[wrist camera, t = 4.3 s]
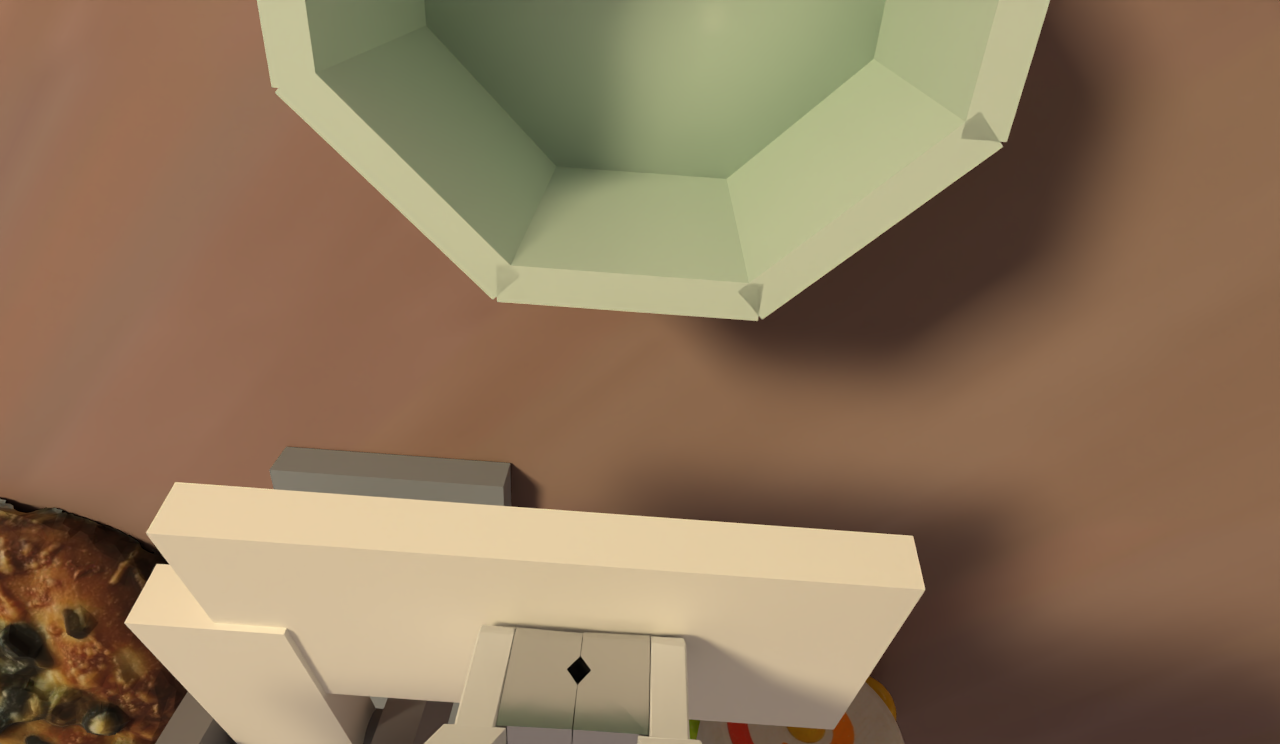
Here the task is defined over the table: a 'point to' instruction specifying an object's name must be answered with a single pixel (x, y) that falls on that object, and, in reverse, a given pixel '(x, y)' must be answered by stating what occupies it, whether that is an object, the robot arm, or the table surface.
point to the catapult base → (404, 722)
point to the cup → (654, 131)
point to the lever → (499, 604)
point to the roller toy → (858, 740)
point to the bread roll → (76, 635)
